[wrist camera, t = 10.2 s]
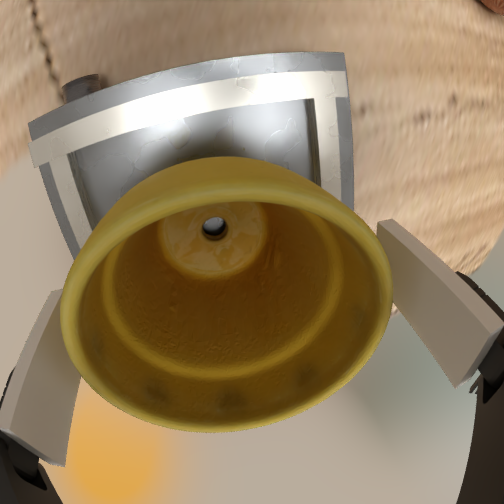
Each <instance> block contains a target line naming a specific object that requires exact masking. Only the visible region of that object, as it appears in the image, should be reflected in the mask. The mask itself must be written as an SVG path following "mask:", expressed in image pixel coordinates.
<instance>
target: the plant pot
mask: <svg viewBox="0 0 504 504" xmlns="http://www.w3.org/2000/svg"><path fill="white" fill-rule="evenodd" d="M214 217H218V218H222V219H223V220H224V221H225V223H226V227H225V230H224V231H223V232H222V233H221V234H219V235H217V236H211V235H208V234H206V233H205V232H204V230H203V224H204V223H205V222H206V221H207V220H209V219H211V218H214ZM392 304H393V279H392V272H391V268H390V264H389V261H388V258H387V255H386V253H385V251H384V249H383V247H382V245H381V243H380V241H379V240H378V238H377V237H376V235H375V233H374V232H373V231H372V230H371V229H370V227H369V226H368V225H367V224H366V223H365V222H364V221H363V220H362V219H361V218H360V217H359V216H358V215H357V214H356V213H355V212H354V211H352V210H351V209H350V208H349V207H347V206H346V205H345V204H343V203H342V202H341V201H339V200H338V199H337V198H335V197H334V196H333V195H331V194H330V193H329V192H327V191H326V190H324V189H323V188H321V187H320V186H318V185H316V184H315V183H313V182H312V181H310V180H308V179H306V178H304V177H303V176H301V175H299V174H297V173H295V172H293V171H291V170H289V169H286V168H284V167H281V166H278V165H276V164H273V163H269V162H266V161H262V160H257V159H251V158H244V157H210V158H202V159H197V160H192V161H187V162H184V163H180V164H177V165H174V166H171V167H168V168H166V169H164V170H162V171H159V172H157V173H155V174H153V175H151V176H150V177H148V178H146V179H145V180H143V181H141V182H140V183H138V184H137V185H136V186H134V187H133V188H132V189H130V190H129V191H128V192H127V193H126V194H125V195H124V196H123V197H121V198H120V199H119V200H118V201H117V202H116V203H115V204H114V206H113V207H112V208H111V209H110V210H109V211H108V212H107V213H106V215H105V216H104V217H103V218H102V219H101V220H100V222H99V223H98V225H97V226H96V227H95V229H94V230H93V232H92V233H91V235H90V236H89V237H88V239H87V240H86V242H85V244H84V245H83V247H82V249H81V250H80V252H79V254H78V255H77V257H76V259H75V260H74V263H73V264H72V267H71V269H70V271H69V273H68V276H67V279H66V281H65V285H64V288H63V292H62V297H61V304H60V324H61V331H62V336H63V340H64V344H65V347H66V350H67V352H68V355H69V357H70V359H71V361H72V363H73V364H74V366H75V368H76V369H77V370H78V372H79V373H80V375H81V376H82V377H83V379H84V380H85V381H86V382H87V383H88V384H89V385H90V387H91V388H92V389H93V390H94V391H95V392H97V393H98V394H99V395H100V396H101V397H103V398H104V399H105V400H106V401H108V402H109V403H111V404H112V405H114V406H115V407H117V408H119V409H120V410H122V411H124V412H126V413H128V414H130V415H132V416H134V417H136V418H139V419H141V420H144V421H146V422H149V423H152V424H155V425H158V426H162V427H166V428H170V429H175V430H181V431H189V432H203V433H204V432H205V433H216V432H217V433H218V432H233V431H241V430H247V429H252V428H257V427H262V426H266V425H269V424H272V423H276V422H279V421H282V420H285V419H287V418H290V417H292V416H295V415H297V414H299V413H302V412H304V411H305V410H307V409H309V408H311V407H313V406H315V405H316V404H318V403H320V402H322V401H324V400H325V399H327V398H328V397H329V396H331V395H332V394H334V393H335V392H336V391H338V390H339V389H340V388H342V387H343V386H344V385H345V384H346V383H348V382H349V381H350V380H351V379H352V378H353V377H354V376H355V375H356V374H357V373H358V372H359V371H360V370H361V369H362V367H363V366H364V365H365V364H366V363H367V361H368V360H369V359H370V357H371V356H372V354H373V353H374V352H375V350H376V348H377V346H378V344H379V343H380V341H381V339H382V337H383V335H384V332H385V330H386V327H387V324H388V321H389V318H390V314H391V309H392Z"/></svg>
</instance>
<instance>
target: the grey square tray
mask: <svg viewBox="0 0 504 504" xmlns="http://www.w3.org/2000/svg"><path fill="white" fill-rule="evenodd" d="M62 91H63V97H64V102H65V105H64V106H61V107H59V108H57V109H55V110H53V111H51V112H49V113H47V114H45V115H43V116H41V117H39V118H37V119H35V120H33V121H31V122H29V123H28V126H29V130H30V135H31V139H32V142H30V143H28V146H29V150H30V154H31V158H32V161H33V165H34V168H36V167H38V166H39V169H40V172H41V175H42V178H43V182H44V185H45V187H46V191H47V194H48V196H49V199H50V202H51V205H52V208H53V210H54V213H55V216H56V218H57V221H58V223H59V226H60V229H61V231H62V233H63V236H64V238H65V241H66V243H67V245H68V247H69V250H70V252H71V254H72V256H73V259H74V260H75V259H76V257H77V255H78V254H79V252H80V250H81V249H82V247H83V245H84V244H85V242H86V240H87V239H88V237H89V236H90V235H91V233H92V232H93V230H94V229H95V227H96V226H97V225H98V223H99V222H100V220H101V219H102V218H103V217H104V216H105V215H106V213H107V212H108V211H109V210H110V209H111V208H112V207H113V206H114V204H115V203H116V202H117V201H118V200H119V199H120V198H121V197H123V196H124V195H125V194H126V193H127V192H128V191H129V190H130V189H132V188H133V187H134V186H136V185H137V184H138V183H140V182H141V181H143V180H145V179H146V178H148V177H150V176H151V175H153V174H155V173H157V172H159V171H162V170H164V169H166V168H168V167H171V166H174V165H177V164H180V163H184V162H187V161H192V160H197V159H202V158H210V157H244V158H251V159H257V160H262V161H266V162H269V163H273V164H276V165H278V166H281V167H284V168H286V169H289V170H291V171H293V172H295V173H297V174H299V175H301V176H303V177H304V178H306V179H308V180H310V181H312V182H313V183H315V184H316V185H318V186H320V187H321V188H323V189H324V190H326V191H327V192H329V193H330V194H331V195H333V196H334V197H335V198H337V199H338V200H339V201H341V202H342V203H343V204H345V205H346V206H347V207H349V208H350V209H351V210H352V211H354V167H353V141H352V124H351V111H350V100H349V89H348V80H347V72H346V64H345V57H344V53H340V52H287V53H270V54H258V55H248V56H239V57H231V58H224V59H218V60H212V61H206V62H200V63H195V64H190V65H185V66H181V67H176V68H172V69H168V70H164V71H160V72H156V73H152V74H149V75H145V76H142V77H138V78H135V79H132V80H129V81H125V82H122V83H119V84H116V85H114V86H111V87H108V88H105V89H102V90H101V85H100V80H99V75H98V74H93V75H88V76H84V77H81V78H78V79H75V80H73V81H71V82H69V83H67V84H65V85H64V86H63V87H62ZM225 227H226V223H225V221H224V220H223V219H222V218H218V217H214V218H211V219H209V220H207V221H206V222H205V223H204V224H203V230H204V232H205V233H206V234H208V235H211V236H217V235H219V234H221V233H222V232H223V231H224V230H225Z"/></svg>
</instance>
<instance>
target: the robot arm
mask: <svg viewBox="0 0 504 504" xmlns="http://www.w3.org/2000/svg"><path fill="white" fill-rule="evenodd" d="M376 237H377V238H378V240H379V241H380V243H381V245H382V247H383V249H384V251H385V253H386V255H387V258H388V261H389V264H390V268H391V272H392V279H393V303H394V304H395V305H396V307H397V308H398V309H399V310H400V312H401V313H402V314H403V315H404V317H405V318H406V320H407V321H408V322H409V323H410V325H411V326H412V328H413V329H414V330H415V331H416V333H417V334H418V336H419V337H420V338H421V340H422V341H423V343H424V344H425V345H426V347H427V348H428V349H429V351H430V352H431V354H432V355H433V357H434V358H435V359H436V361H437V362H438V364H439V365H440V366H441V368H442V370H443V371H444V373H445V374H446V376H447V377H448V378H449V380H450V382H451V383H452V385H453V386H454V388H455V389H456V388H458V387H459V386H461V385H462V384H464V383H465V382H467V381H468V380H470V378H471V377H472V376H473V375H474V373H475V372H476V370H477V369H478V370H479V371H480V373H481V374H480V376H479V377H478V378H477V380H476V381H475V383H474V384H473V385H472V386H471V388H470V391H469V393H472V392H473V391H474V390H475V388H476V387H477V386H478V389H477V391H476V392H475V394H477V403H476V414H475V422H474V429H473V436H472V442H471V447H470V453H469V458H468V462H467V467H466V471H465V475H464V479H463V483H462V486H461V490H460V493H459V497H458V500H457V503H456V504H504V312H503V311H502V310H501V309H500V307H499V306H498V305H497V304H496V303H495V302H494V301H493V300H492V299H491V298H490V297H489V296H488V295H486V294H485V292H484V291H483V290H482V289H481V288H479V287H478V285H477V284H476V283H475V282H474V281H472V279H470V278H469V277H468V276H466V275H464V274H462V273H460V272H458V271H457V272H454V271H453V270H452V269H451V268H450V267H449V266H448V265H446V264H445V263H444V262H443V261H442V260H441V259H440V258H439V257H438V256H436V255H435V254H434V253H433V252H432V251H431V250H430V249H428V248H427V247H426V246H425V245H424V244H423V243H421V242H420V241H419V240H418V239H417V238H415V237H414V236H413V235H412V234H411V233H409V232H408V231H407V230H406V229H404V228H403V227H402V226H401V225H399V224H398V223H397V222H396V221H394V220H393V219H389V220H384V221H379V222H377V235H376ZM62 292H63V289H60V290H55V291H51V293H50V295H49V297H48V299H47V300H46V302H45V304H44V306H43V308H42V310H41V312H40V314H39V316H38V318H37V320H36V322H35V324H34V326H33V328H32V330H31V332H30V334H29V336H28V339H27V341H26V343H25V346H24V348H23V350H22V352H21V355H20V357H19V360H18V362H17V365H16V366H15V368H14V369H13V370H12V372H11V373H10V376H9V378H8V381H7V383H6V387H5V389H4V392H3V396H2V398H1V401H0V504H63V503H62V501H61V499H60V497H59V496H58V494H57V492H56V490H55V488H54V487H53V485H52V483H51V481H50V479H49V477H48V475H47V473H46V471H45V469H44V467H43V466H42V465H41V464H40V463H38V462H39V458H41V459H42V460H44V461H46V462H47V463H49V464H52V465H57V466H62V467H65V462H66V454H67V446H68V440H69V433H70V427H71V422H72V416H73V410H74V406H75V401H76V396H77V392H78V388H79V383H80V379H81V375H80V373H79V372H78V370H77V369H76V368H75V366H74V364H73V363H72V361H71V359H70V357H69V355H68V352H67V350H66V347H65V344H64V340H63V336H62V331H61V324H60V304H61V297H62Z"/></svg>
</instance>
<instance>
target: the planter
mask: <svg viewBox="0 0 504 504" xmlns="http://www.w3.org/2000/svg"><path fill="white" fill-rule="evenodd" d="M480 1H481V2H482V3H483V4H485V5H486V6H487V7H488V8H489V9H491V10H492V11H494V12H496V13H498V14H500V15H503V16H504V0H480Z"/></svg>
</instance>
